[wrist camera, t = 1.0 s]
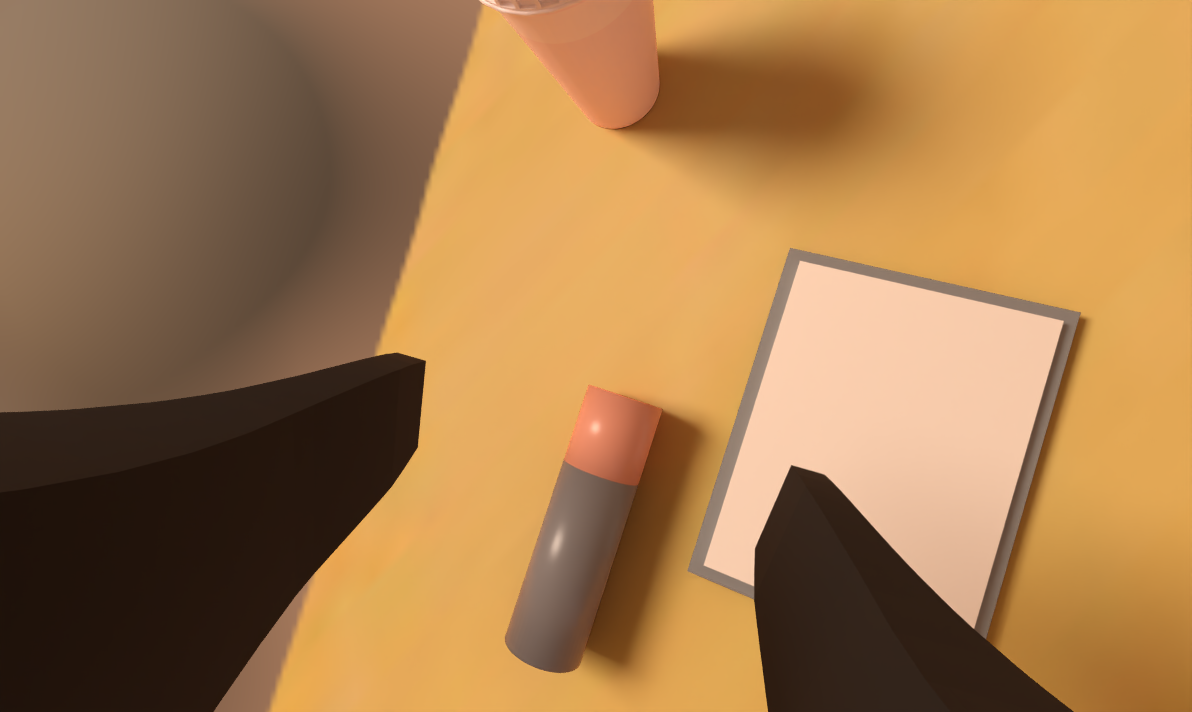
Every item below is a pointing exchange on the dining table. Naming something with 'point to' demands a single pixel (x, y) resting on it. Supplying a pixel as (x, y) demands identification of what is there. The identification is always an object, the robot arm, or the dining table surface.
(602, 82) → the smoothie
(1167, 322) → the dining table surface
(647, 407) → the marker
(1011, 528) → the notepad
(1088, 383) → the dining table surface
